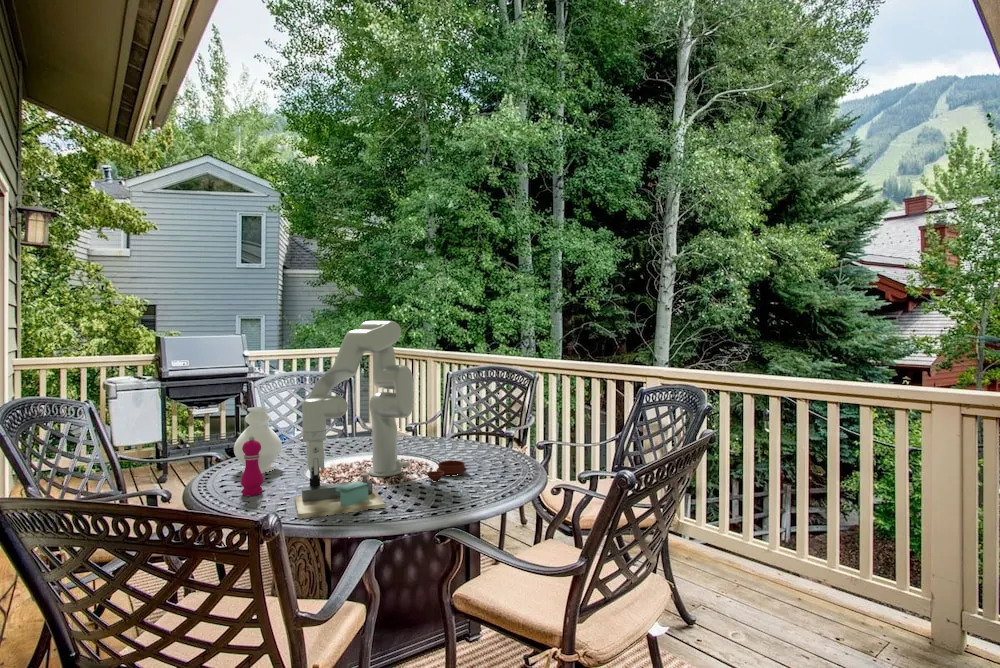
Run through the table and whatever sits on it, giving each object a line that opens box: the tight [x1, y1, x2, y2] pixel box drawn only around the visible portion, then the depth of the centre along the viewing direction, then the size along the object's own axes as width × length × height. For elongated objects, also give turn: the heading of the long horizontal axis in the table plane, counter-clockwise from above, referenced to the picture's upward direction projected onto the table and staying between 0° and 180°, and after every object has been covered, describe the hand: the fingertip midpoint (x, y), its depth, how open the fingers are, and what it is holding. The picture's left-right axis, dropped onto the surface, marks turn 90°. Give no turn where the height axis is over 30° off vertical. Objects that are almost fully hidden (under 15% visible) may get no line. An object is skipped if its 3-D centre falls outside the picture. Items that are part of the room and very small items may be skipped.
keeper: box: [336, 480, 368, 506], centre depth 190 cm, size 9×5×5 cm, turn 147°
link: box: [301, 480, 374, 502], centre depth 195 cm, size 22×5×4 cm, turn 112°
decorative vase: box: [233, 406, 283, 474], centre depth 238 cm, size 18×18×25 cm
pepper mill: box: [240, 436, 264, 497], centre depth 205 cm, size 7×7×20 cm
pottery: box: [426, 460, 468, 481], centre depth 226 cm, size 12×20×4 cm, turn 152°
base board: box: [294, 473, 386, 520], centre depth 192 cm, size 26×20×8 cm
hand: (314, 489), depth 199 cm, fingers closed
